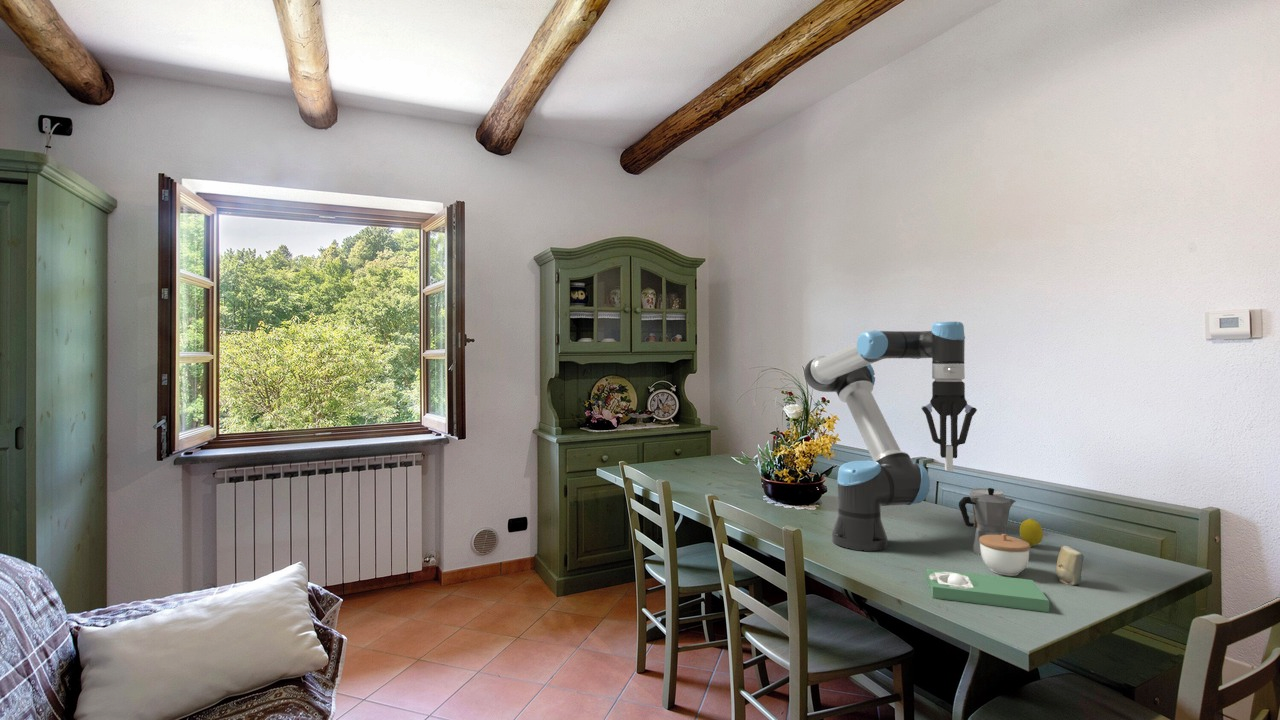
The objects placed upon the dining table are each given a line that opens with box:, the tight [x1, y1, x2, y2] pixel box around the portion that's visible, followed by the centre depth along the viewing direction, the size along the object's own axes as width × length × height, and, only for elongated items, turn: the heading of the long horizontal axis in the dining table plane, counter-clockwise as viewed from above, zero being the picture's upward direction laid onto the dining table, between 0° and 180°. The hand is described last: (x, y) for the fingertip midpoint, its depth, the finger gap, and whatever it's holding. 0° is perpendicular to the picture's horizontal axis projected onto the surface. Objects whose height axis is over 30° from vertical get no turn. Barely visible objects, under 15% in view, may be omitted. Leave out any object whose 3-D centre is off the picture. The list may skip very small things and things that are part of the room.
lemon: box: [1019, 517, 1044, 547], centre depth 164 cm, size 6×6×8 cm
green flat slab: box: [925, 568, 1050, 613], centre depth 130 cm, size 22×12×2 cm, turn 70°
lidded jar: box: [979, 534, 1031, 577], centre depth 144 cm, size 11×11×9 cm
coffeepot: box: [958, 487, 1016, 556], centre depth 158 cm, size 15×9×18 cm, turn 90°
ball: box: [947, 573, 967, 585], centre depth 132 cm, size 4×4×4 cm
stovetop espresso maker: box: [969, 487, 1006, 529], centre depth 181 cm, size 10×10×12 cm
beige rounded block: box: [1055, 545, 1085, 587], centre depth 137 cm, size 6×5×8 cm
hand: (948, 470), depth 151 cm, fingers closed
